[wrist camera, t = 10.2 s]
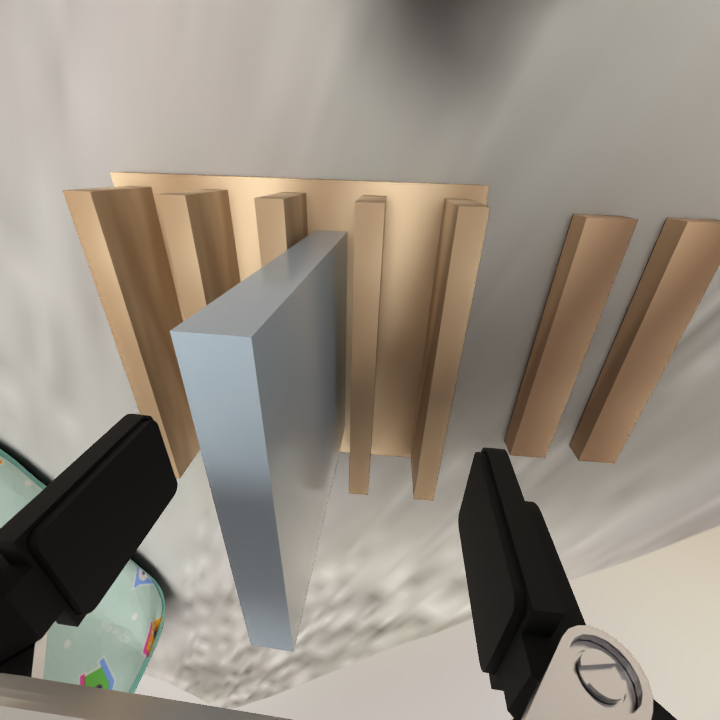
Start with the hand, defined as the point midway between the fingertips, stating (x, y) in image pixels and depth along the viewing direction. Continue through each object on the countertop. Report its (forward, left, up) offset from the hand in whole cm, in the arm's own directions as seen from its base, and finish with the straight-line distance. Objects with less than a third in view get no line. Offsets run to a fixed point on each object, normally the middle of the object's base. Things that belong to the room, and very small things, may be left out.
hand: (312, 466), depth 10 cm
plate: (+1, 0, -9) cm, 9 cm away
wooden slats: (-13, 0, -10) cm, 16 cm away
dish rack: (+2, 0, -10) cm, 10 cm away
